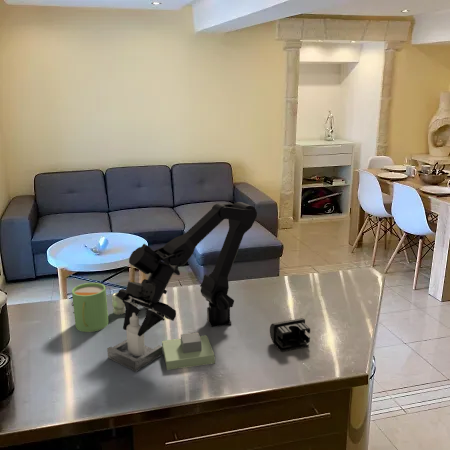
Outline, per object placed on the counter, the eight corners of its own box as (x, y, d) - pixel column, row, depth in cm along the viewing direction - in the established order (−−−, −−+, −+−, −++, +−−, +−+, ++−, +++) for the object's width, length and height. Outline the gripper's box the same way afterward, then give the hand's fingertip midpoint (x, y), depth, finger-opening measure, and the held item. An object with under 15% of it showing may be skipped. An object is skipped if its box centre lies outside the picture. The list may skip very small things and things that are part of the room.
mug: (80, 316, 160) (76, 282, 156) (112, 316, 159) (109, 282, 156) (67, 335, 147) (62, 299, 144) (101, 336, 147) (98, 299, 144)
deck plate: (206, 342, 143) (206, 326, 141) (214, 363, 133) (214, 345, 131) (162, 348, 140) (161, 331, 138) (166, 369, 130) (166, 351, 128)
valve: (113, 318, 159) (150, 312, 162) (112, 299, 157) (149, 294, 160) (112, 309, 165) (147, 304, 168) (110, 291, 163) (146, 286, 166)
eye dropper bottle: (130, 358, 133) (127, 319, 130) (127, 348, 138) (124, 310, 135) (146, 355, 134) (143, 316, 131) (142, 345, 140) (140, 307, 136)
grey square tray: (135, 342, 143) (134, 333, 143) (162, 354, 137) (162, 344, 136) (108, 358, 136) (107, 348, 135) (135, 371, 129) (134, 361, 128)
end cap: (299, 334, 147) (300, 314, 145) (310, 346, 141) (311, 325, 139) (269, 340, 144) (269, 320, 142) (279, 352, 138) (280, 331, 136)
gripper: (118, 262, 138) (90, 312, 133) (166, 277, 127) (138, 332, 122) (140, 279, 146) (115, 326, 141) (187, 294, 135) (162, 346, 130)
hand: (131, 332), depth 133 cm, fingers closed on eye dropper bottle, 5 cm apart
